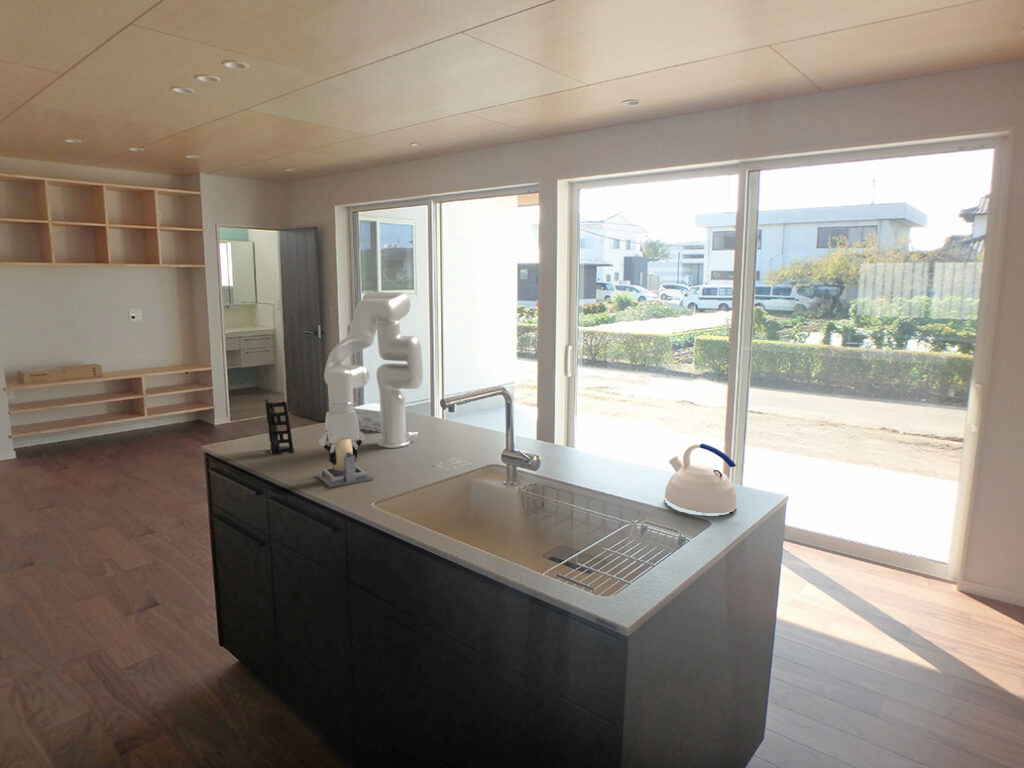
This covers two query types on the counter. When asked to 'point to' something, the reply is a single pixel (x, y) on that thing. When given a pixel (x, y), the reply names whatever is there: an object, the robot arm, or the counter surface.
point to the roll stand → (344, 474)
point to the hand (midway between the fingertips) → (343, 461)
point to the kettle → (701, 484)
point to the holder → (273, 428)
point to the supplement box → (369, 416)
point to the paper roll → (342, 453)
